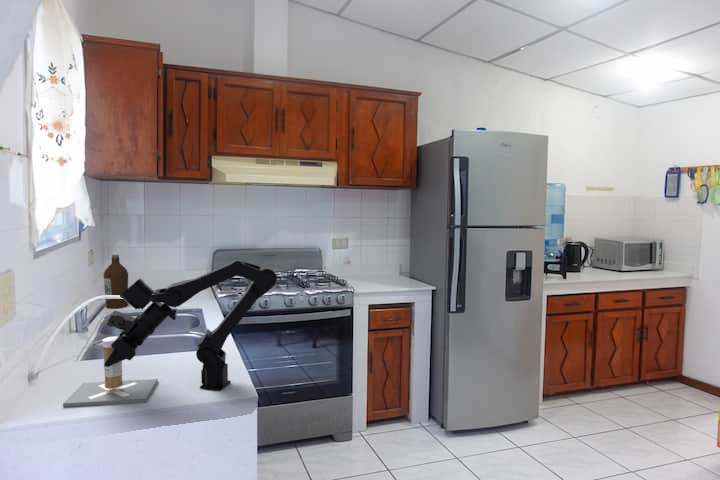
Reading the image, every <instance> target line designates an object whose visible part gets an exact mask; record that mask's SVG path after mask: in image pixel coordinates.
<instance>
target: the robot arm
mask: <svg viewBox="0 0 720 480" xmlns="http://www.w3.org/2000/svg"><path fill="white" fill-rule="evenodd" d="M236 276H240V277H242V278H245V279H246V280H249V281H250V284H249V286H248V287H247V289H246V291H245V292H244V293H243V294H242V295H241V297H240V298H239V299H238V301H237V302H236V303H235V304H234V305H233V307H232V308H231V310H229V312H228V313H227V315H226V316H225V317H223V319H222V320H221V322H220V323H219V324H218V326H217V327H216V328H215V329H213V330H212V331H211V330H210V329H209V328H208V329H207V330H205V332H204V335H202V337H200V338H199V339H198V341H197V349H196V353H195V355H196V359H197V361H199V363H202V369H201V372H200V373H201V375H200V377H201V384H200V386H199V389H202V390H203V389H204V390H212V391H221V390H223V389H224V388H225V387H227V386H228V385H229V384H230V383H231V380H230V379H229V375H228V374H229V368H228V367H229V365H228V363H226V356H227V353H226V352H225V350H223V346H224V345H225V344H226V340H227V339H228V337H230V335H231V333H232V332H233V331H234V329H235V328H236V327H237V326H238V324H240V322H241V321H242V319H243V318H244V317H245V316H246V314H247V313H248V311H250V309H251V308H252V307H253V306H254V304H255V303H256V301H258V299H260V298H261V297H262V296H263V295H265V294H267V293H268V292H269V291H271V289H273V287H274V286H276V284H277V282H278V276H277V274H276V272H275V270H274V268H272V267H271V266H269V265H264V266H259V265H256V264H253V263H251V262H246V261H244V260H242V259H234V260H232V261H231V262H230V263H227V264H225V265H223V266H220V267H218V268H216V269H213V270H211V271H209V272H207V273H204V274H202V275H200V276H197V277H195V278H191V279H185V280H182V281H181V280H180V281H177V282H174V283H171V284H169V285H168V286H167V287H165V288H157V289H155V290H154V289H152V288H151V287H150V286H149V285H148V284H146V283H145V281H144V280H143V279H142V278H138V279H137V280H136V281H135V282H133V284H131V285H130V286H128V289H127V290H126V291H125V292H124V293H123V294H122V295H121V296H120V297H121V298H123V299H124V300H125V301H126V302H127V303H128V305H130V306H131V307H132V308H133V309H135V310H144V308H146V307H147V308H146V309H145V310H144V311H142V312H141V314H137V316H136V317H133V316H131V315H129V314H126V313H123V312H121V311H118V310H114V311H113V312H111V314H110V316H109V318H108V320H107V322H106V326H108V327H110V328H111V327H112V328H115V329H119V330H122V331H121V332H120V334H119V335H118V336H117V337H118V338H117V339H116V340H115V341H114V342H113V343H112V344H111V346H112V348H114V350H113V352H112V353H111V355H110V356H109V358H108V359H107V361H106V362H105V364H104V363H103V366H104V365H105V366H106V367H109V366H111V365H113V364H116V363H118V362H120V361H122V362H123V361H125V360H128V361H132V359H133V358H134V357H135V356H136V355H137V353H138V352H139V351H138V349H139V347H141V346H142V345H143V343H145V341H146V340H147V339H148V338H149V337H150V336H151V335H153V334H154V332H155V331H156V330H157V329H158V328H159V327H160V325H161V324H163V323H164V322H165V321H166V319H168V318H171V319H172V320H173V321H176V319H177V317H178V314H177V313H178V312H177V311H178V307H180V306H182V305H183V304H184V303H187V302H188V301H189V300H190V299H192V298H193V297H194V296H196V295H197V294H198V293H200V292H203V291H204V290H207V289H210V288H211V287H213V286H215V285H216V286H217V285H218V284H220V283H222V282H224V281H227V280H230V279H231V278H234V277H236ZM263 297H264V296H263ZM150 302H151V304H149V303H150ZM148 305H149V306H148Z"/></svg>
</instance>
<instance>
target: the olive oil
mask: <svg viewBox="0 0 720 480" xmlns="http://www.w3.org/2000/svg"><path fill="white" fill-rule="evenodd" d="M103 286H104V295H120V296H121V295H122V294H123V293H124V292H125V291H126V290H127V289H128V288H129V271H128V270H127V269H126V267H125V266H124V265H122V264H121V262H120V255H119V254H112V255H111V263H110V265H109V266H107V268H106V269H105V270H104V273H103ZM128 305H129V303H127V302H126V301H125V300H124V299H106V298H105V307H106V308H107V309H113V310H114V309H116V310H117V309H122V308H127V307H128Z"/></svg>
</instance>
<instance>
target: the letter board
mask: <svg viewBox="0 0 720 480" xmlns="http://www.w3.org/2000/svg"><path fill="white" fill-rule="evenodd" d="M158 380H159V379H158V378H151V379H147V378H146V379H133V380H131V379H130V380H128V379H127V380H122V382H123V385H122V386H120V387H117V388H113V389H108V388H105V381H96V382H95V381H93V382H82V383H81V384H80V386H78V388H77V389H75V391H73V392H72V394H70V396H69V397H67V399H65V401H63V403H62V407H63V408H71V407H72V408H74V407H87V406H88V407H89V406H104V405H105V406H106V405H107V406H108V405H120V404H122V405H123V404H136V403H147V401H148V400H149V398H150V396H151V394H152V393H153V391H154V389H155V387H156V386H157V384H158V382H159V381H158Z"/></svg>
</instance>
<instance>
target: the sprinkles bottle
mask: <svg viewBox="0 0 720 480" xmlns="http://www.w3.org/2000/svg"><path fill="white" fill-rule="evenodd" d="M118 337H119V336H108V337H105V338H103V339H102V340H101V342H102V348H103V369H104V371H103V372H104V382H105V388H108V389H113V388H117V387H120V386H122V385H123V382H122V381H123V361H120V362H118V363H116V364H113V365H111V366H109V367H106V366H105V365H104V364H105V362H106V361H107V359H108V358H109V356H110V355H111V353H112V352H113V350H114V348H112V346H111V344H112V343H113V342H114V341H115V340H116V339H117V338H118Z"/></svg>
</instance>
